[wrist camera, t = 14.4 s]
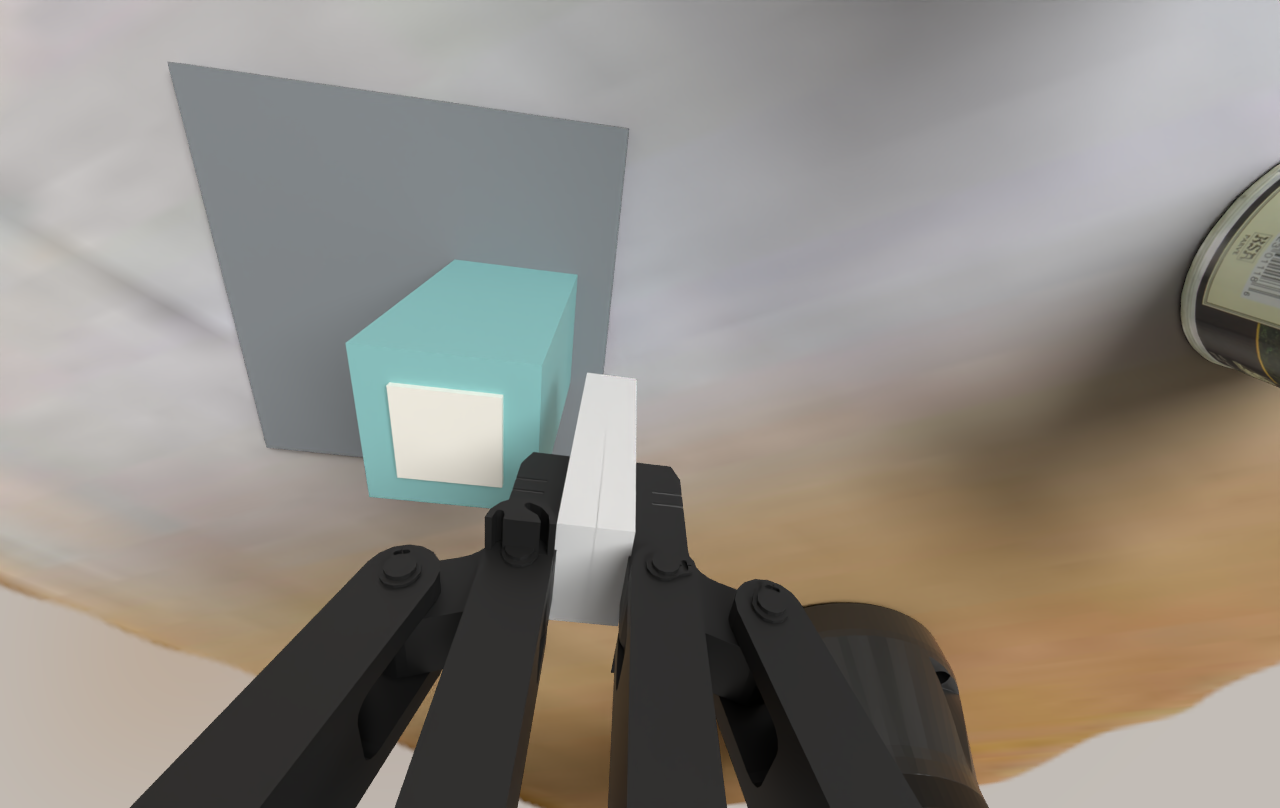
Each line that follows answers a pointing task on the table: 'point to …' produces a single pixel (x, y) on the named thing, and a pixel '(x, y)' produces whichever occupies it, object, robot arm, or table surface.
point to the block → (463, 382)
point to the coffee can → (1239, 286)
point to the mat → (384, 225)
